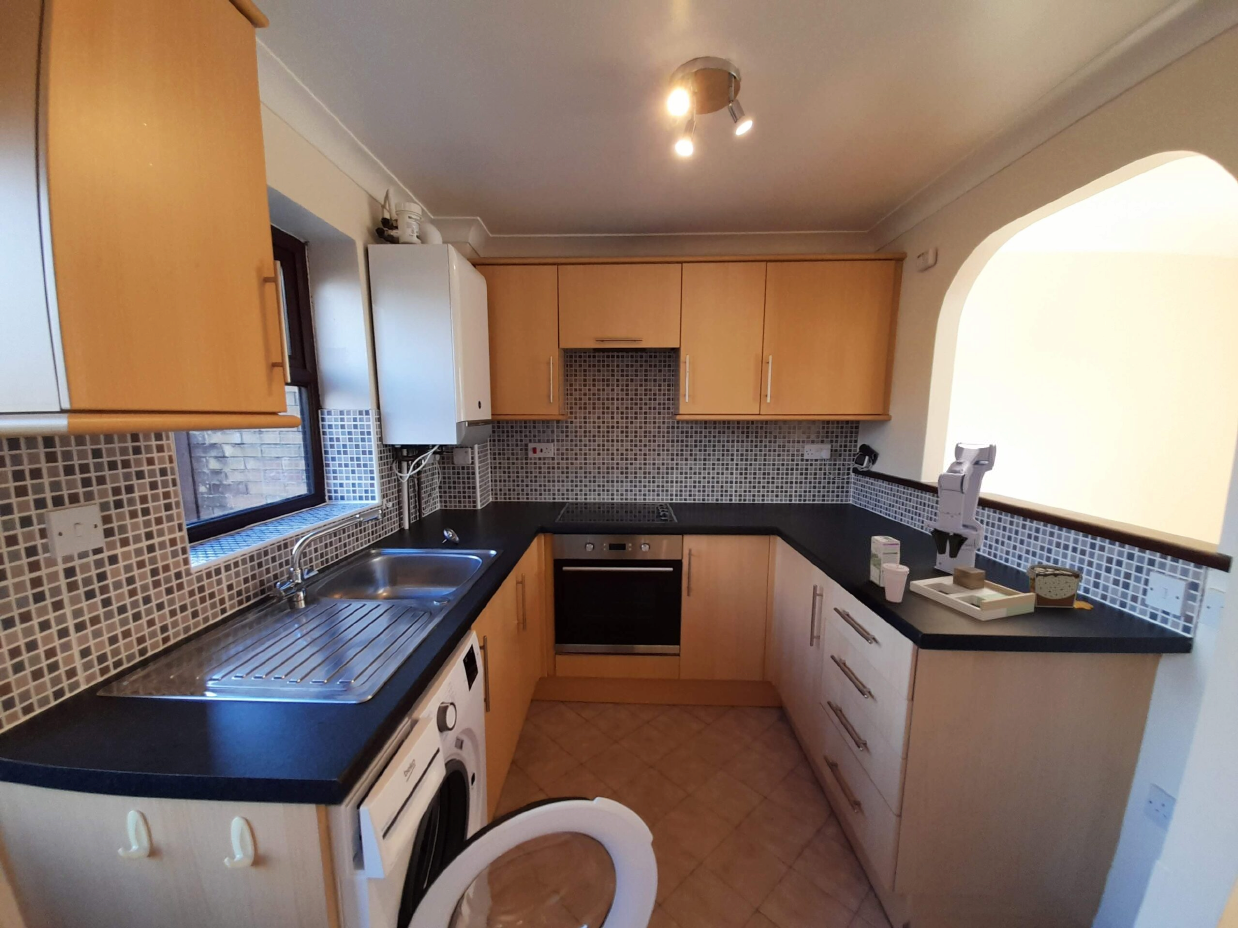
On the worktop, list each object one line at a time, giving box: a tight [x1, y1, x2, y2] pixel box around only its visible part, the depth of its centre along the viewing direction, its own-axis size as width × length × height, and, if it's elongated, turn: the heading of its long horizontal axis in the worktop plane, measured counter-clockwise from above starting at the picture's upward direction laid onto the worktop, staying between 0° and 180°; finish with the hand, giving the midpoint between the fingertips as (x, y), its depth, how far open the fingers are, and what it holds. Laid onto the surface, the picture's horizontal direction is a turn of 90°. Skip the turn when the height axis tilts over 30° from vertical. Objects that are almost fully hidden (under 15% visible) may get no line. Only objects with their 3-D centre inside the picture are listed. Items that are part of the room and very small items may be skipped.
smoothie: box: [882, 552, 910, 603], centre depth 117 cm, size 6×6×14 cm
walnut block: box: [952, 566, 986, 590], centre depth 120 cm, size 5×5×5 cm
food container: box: [1025, 563, 1084, 609], centre depth 114 cm, size 12×6×10 cm, turn 84°
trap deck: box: [909, 575, 1035, 622], centre depth 116 cm, size 20×18×5 cm
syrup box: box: [869, 535, 901, 588], centre depth 128 cm, size 6×6×14 cm
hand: (947, 555), depth 126 cm, fingers open, 3 cm apart
